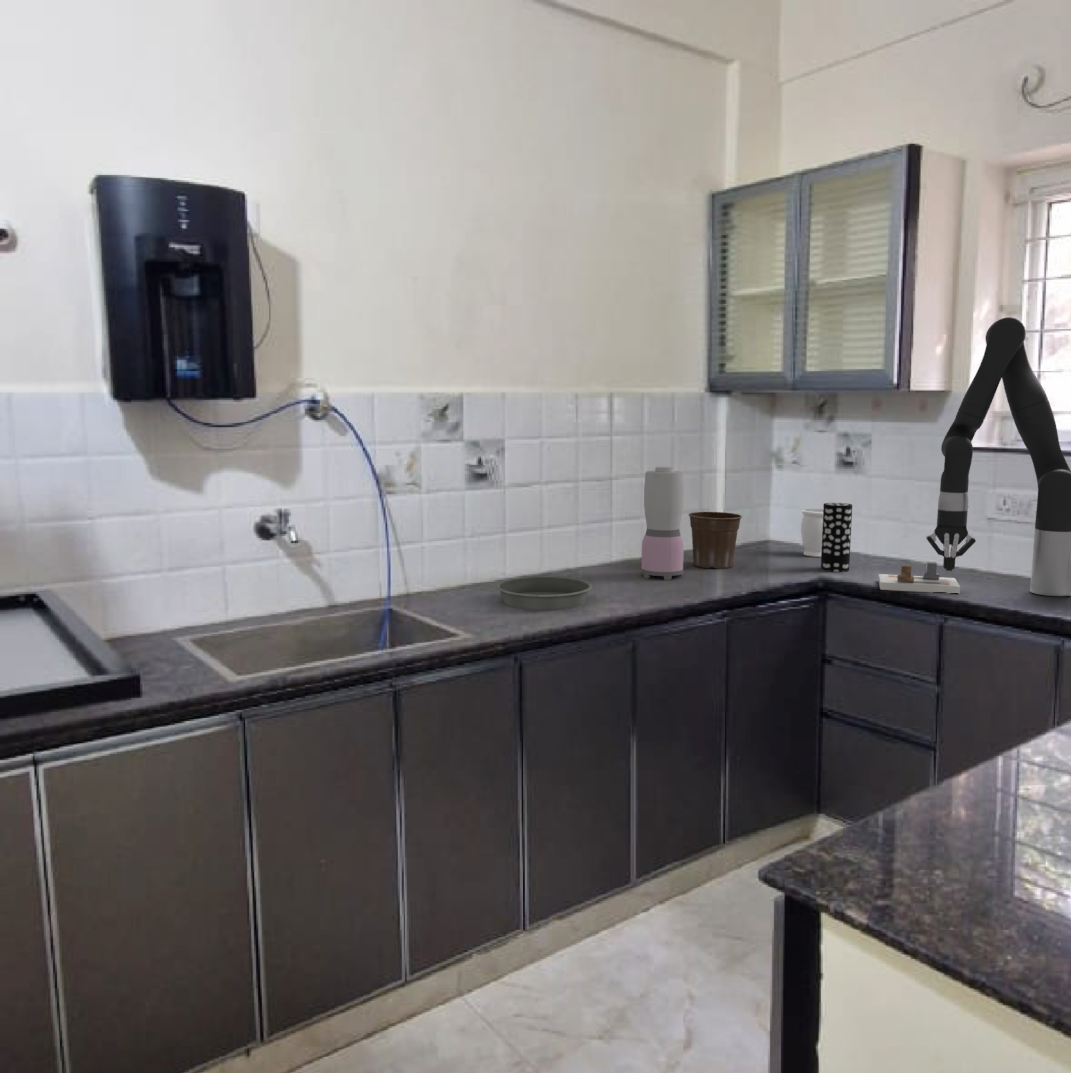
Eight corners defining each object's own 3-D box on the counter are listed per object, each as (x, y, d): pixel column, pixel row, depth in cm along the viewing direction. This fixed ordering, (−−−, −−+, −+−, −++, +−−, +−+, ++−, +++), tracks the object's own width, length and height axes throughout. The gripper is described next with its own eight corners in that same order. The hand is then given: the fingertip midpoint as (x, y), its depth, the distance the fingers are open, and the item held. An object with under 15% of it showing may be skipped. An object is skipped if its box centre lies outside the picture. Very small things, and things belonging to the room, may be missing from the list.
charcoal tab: (937, 576, 266) (938, 562, 266) (939, 579, 263) (940, 564, 262) (922, 576, 267) (923, 561, 267) (923, 578, 264) (924, 563, 263)
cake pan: (476, 601, 245) (476, 584, 244) (544, 588, 262) (544, 572, 261) (544, 617, 228) (544, 598, 227) (611, 602, 245) (611, 585, 244)
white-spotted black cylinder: (850, 572, 286) (853, 506, 283) (821, 571, 287) (824, 505, 284) (847, 567, 294) (850, 503, 291) (819, 566, 295) (822, 502, 292)
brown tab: (912, 579, 262) (913, 564, 261) (913, 582, 258) (914, 566, 258) (897, 579, 263) (898, 564, 262) (898, 581, 259) (898, 566, 259)
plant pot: (750, 566, 296) (752, 514, 294) (719, 572, 285) (720, 519, 283) (708, 559, 308) (710, 510, 306) (676, 565, 297) (677, 514, 295)
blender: (675, 581, 271) (678, 469, 266) (635, 578, 276) (637, 467, 271) (691, 572, 285) (693, 465, 280) (652, 569, 290) (654, 464, 285)
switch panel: (954, 585, 266) (954, 577, 266) (959, 594, 254) (960, 586, 254) (878, 580, 272) (878, 573, 272) (880, 589, 260) (880, 581, 260)
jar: (812, 551, 324) (814, 508, 322) (839, 555, 316) (841, 510, 314) (793, 555, 317) (795, 510, 315) (820, 559, 310) (822, 513, 307)
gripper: (977, 507, 263) (972, 569, 265) (925, 506, 266) (921, 567, 269) (981, 510, 255) (976, 574, 258) (927, 508, 259) (924, 571, 262)
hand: (948, 570), depth 263 cm, fingers closed
